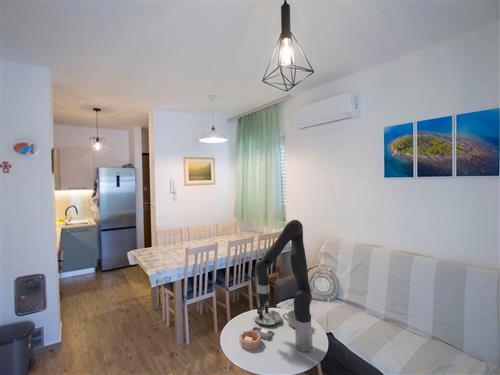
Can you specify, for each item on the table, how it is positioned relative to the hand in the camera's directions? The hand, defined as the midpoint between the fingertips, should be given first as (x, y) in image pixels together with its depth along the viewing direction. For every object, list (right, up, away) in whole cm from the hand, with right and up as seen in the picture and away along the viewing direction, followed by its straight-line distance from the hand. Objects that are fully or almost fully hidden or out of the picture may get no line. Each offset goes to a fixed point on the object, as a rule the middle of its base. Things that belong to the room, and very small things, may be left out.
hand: (263, 316), depth 166 cm
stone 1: (-10, -13, -8) cm, 18 cm away
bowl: (-9, -14, -6) cm, 17 cm away
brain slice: (+4, -13, +19) cm, 23 cm away
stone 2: (0, -13, +1) cm, 13 cm away
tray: (-2, -13, +3) cm, 14 cm away
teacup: (+21, -13, +13) cm, 28 cm away
